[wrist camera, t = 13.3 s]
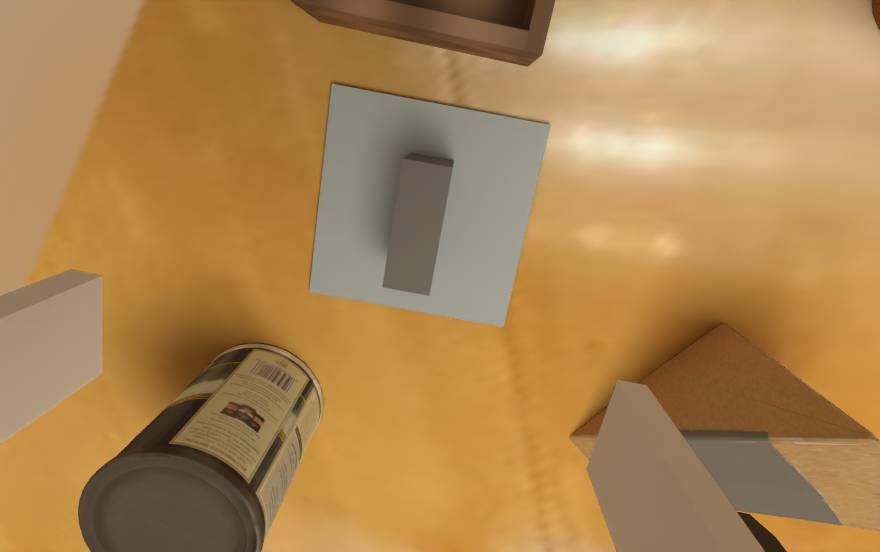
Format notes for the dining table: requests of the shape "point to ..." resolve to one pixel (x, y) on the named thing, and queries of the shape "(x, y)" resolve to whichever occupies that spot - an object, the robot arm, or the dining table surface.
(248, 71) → the dining table surface
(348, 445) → the dining table surface
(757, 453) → the sandwich container
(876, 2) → the disposable coffee cup
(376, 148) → the lid
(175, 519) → the coffee can
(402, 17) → the box
